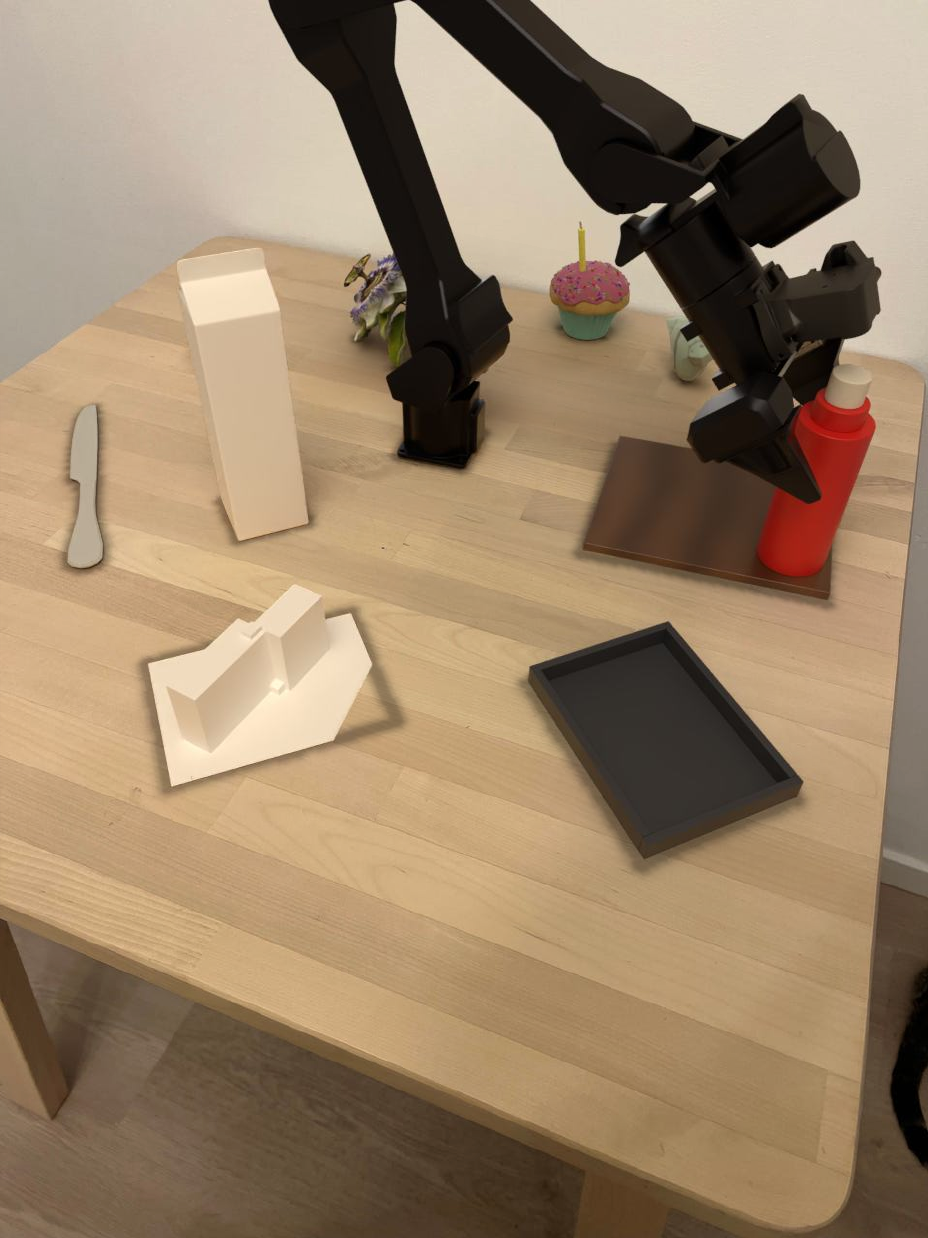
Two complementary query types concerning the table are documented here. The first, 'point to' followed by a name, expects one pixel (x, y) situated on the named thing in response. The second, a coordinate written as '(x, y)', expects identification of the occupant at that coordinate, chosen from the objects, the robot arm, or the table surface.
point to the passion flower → (380, 304)
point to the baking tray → (661, 737)
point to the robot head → (686, 351)
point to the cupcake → (588, 295)
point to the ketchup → (821, 474)
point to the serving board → (689, 517)
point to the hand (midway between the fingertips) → (832, 467)
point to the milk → (244, 389)
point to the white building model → (259, 688)
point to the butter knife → (85, 491)
